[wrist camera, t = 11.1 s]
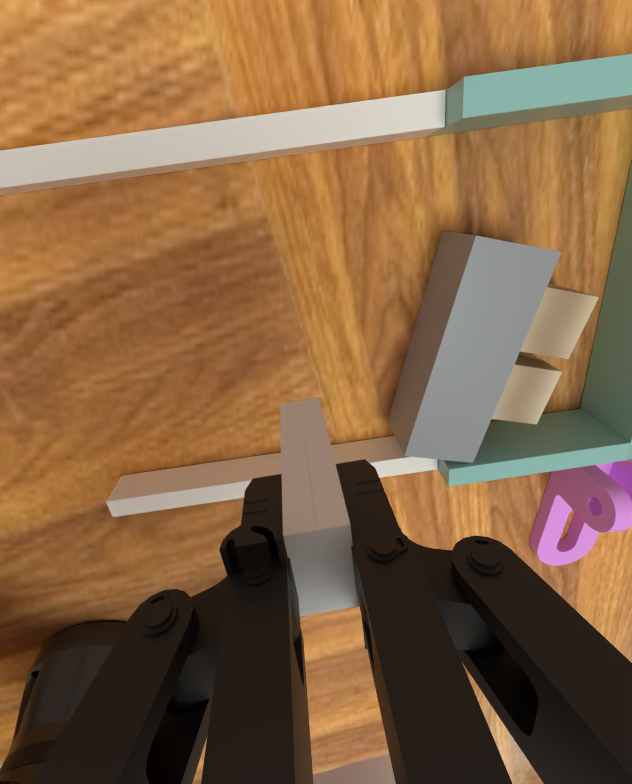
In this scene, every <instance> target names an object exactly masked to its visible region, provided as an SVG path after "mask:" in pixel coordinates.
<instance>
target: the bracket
mask: <svg viewBox="0 0 632 784" xmlns="http://www.w3.org/2000/svg"><path fill="white" fill-rule="evenodd" d="M572 510H574V511H575V515H574V517H573V520H572V522H571V525H570V528H569V530H568V533H567V535H566V537H565V538H563V539H562V540H560V541H559V539H560V536H561V534H562V531H563V528H564V526H565V523H566V520H567V518H568V515H569V513H570V512H571V511H572ZM631 525H632V459H631V460H625V461H618V462H611V463H604V464H598V465H591V466H584V467H577V468H571V469H564V470H557V471H552V472H551V475H550V478H549V481H548V484H547V487H546V490H545V493H544V496H543V499H542V503H541V506H540V509H539V512H538V515H537V518H536V521H535V524H534V527H533V530H532V533H531V536H530V546H531V548H532V549H533V551H534V552H535V553H536V555H537V556H538V558H539V559H540V560H541V561H542V562H543V563H545V564H548V565H553V566H559V565H565V564H569V563H572V562H574V561H576V560H578V559H580V558H582V557H583V556H584V555H586V554H587V553H588V552H589V551H590V550H591V548H592V547H593V545H594V543H595V541H596V539H597V536H598V534H599V532H617V531H625V530H627V529H628V528H630V526H631Z"/></svg>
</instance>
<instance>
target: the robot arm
mask: <svg viewBox="0 0 632 784" xmlns="http://www.w3.org/2000/svg"><path fill="white" fill-rule="evenodd" d="M280 432H281V473H282V474H277V475H271V476H265V477H259V478H253V479H252V480H251V482H250V484H249V485H248V487H247V488H246V490H245V495H244V506H243V513H242V514H243V516H242V522H241V526H239V527H237V528H236V529H234V530H233V531H231V532H230V533H229V534H228V535H227V536H226V538H225V539H224V540H223V542H222V544H221V547H220V549H219V550H220V553H221V556H222V560H223V563H224V566H225V569H226V572H227V577H226V578H224V579H223V580H222V581H221V582H220V583H218V584H216V585H215V586H213V587H211V588H209V589H207V590H205V591H203V592H201V593H199V594H197V595H195V596H192V597H190V596H189V595H188V594H187V593H186V592H185V591H181V590H177V589H171V590H164V591H161V592H159V593H157V594H155V595H153V596H151V597H149V598H148V599H147V600H146V601H144V602H143V603H142V604H141V605H139V607H138V608H137V609H136V611H135V612H134V613H133V614H132V616H131V617H130V619H129V620H128V622H127V623H121V622H93V623H86V624H81V625H77V626H73V627H70V628H67V629H65V630H63V631H61V632H59V633H57V634H55V635H54V636H52V637H51V638H50V639H49V640H48V641H47V642H46V643H45V644H44V645H43V647H42V648H41V650H40V652H39V654H38V656H37V658H36V659H35V661H34V663H33V665H32V667H31V668H30V671H29V673H28V676H27V679H26V685H25V689H24V693H23V697H22V701H21V706H20V710H19V714H18V719H17V723H16V728H15V732H14V736H13V741H12V745H11V748H10V751H9V753H8V755H7V757H6V759H5V761H4V763H3V765H2V767H1V769H0V784H192V782H193V779H194V776H195V773H196V769H197V766H198V763H199V760H200V757H201V754H202V750H203V747H204V744H205V741H206V738H207V743H206V751H205V758H204V766H203V774H202V782H201V784H313V773H312V758H311V744H310V729H309V715H308V701H307V686H306V672H305V657H304V643H303V636H302V632H301V627H300V616H307V615H312V614H318V613H324V612H329V611H335V610H341V609H346V608H352V607H358V606H360V610H361V614H362V623H363V632H364V641H365V649H367V650H368V654H369V659H370V664H371V669H372V673H373V678H374V683H375V687H376V692H377V697H378V702H379V706H380V711H381V716H382V721H383V725H384V730H385V735H386V739H387V744H388V749H389V754H390V758H391V763H392V768H393V772H394V777H395V782H396V784H512V782H511V779H510V777H509V774H508V772H507V770H506V767H505V765H504V762H503V760H502V758H501V755H500V753H499V750H498V748H497V746H496V743H495V741H494V739H493V736H492V734H491V731H490V729H489V727H488V724H487V722H486V719H485V717H484V715H483V712H482V710H481V707H480V705H479V703H478V700H477V698H476V695H475V693H474V691H473V688H472V686H471V683H470V681H469V679H468V676H467V674H466V671H465V669H464V667H463V664H464V665H465V667H466V668H467V670H468V671H469V673H470V674H471V676H472V677H473V679H474V680H475V682H476V683H477V685H478V686H479V688H480V689H481V691H482V692H483V694H484V695H485V697H486V698H487V700H488V701H489V703H490V704H491V706H492V707H493V709H494V710H495V712H496V713H497V714H498V716H499V717H500V719H501V720H502V722H503V723H504V725H505V726H506V728H507V729H508V731H509V732H510V734H511V735H512V737H513V738H514V740H515V741H516V743H517V744H518V746H519V747H520V749H521V750H522V752H523V753H524V755H525V756H526V758H527V759H528V761H529V762H530V764H531V765H532V767H533V768H534V770H535V771H536V773H537V774H538V776H539V777H540V778H541V780H542V781H543V783H544V784H632V663H631V662H630V661H629V660H628V659H627V658H626V657H625V656H624V655H623V654H621V653H620V652H619V651H618V650H617V649H616V648H615V647H614V646H613V645H612V644H611V643H610V642H609V641H608V640H607V639H606V638H604V637H603V636H602V635H601V634H600V633H599V632H598V631H597V630H596V629H595V628H594V627H593V626H592V625H591V624H590V623H588V622H587V621H586V620H585V619H584V618H583V617H582V616H581V615H580V614H579V613H578V612H577V611H576V610H575V609H574V608H573V607H571V606H570V605H569V604H568V603H567V602H566V601H565V600H564V599H563V598H562V597H561V596H560V595H559V594H558V593H557V592H555V591H554V590H553V589H552V588H551V587H550V586H549V585H548V584H547V583H546V582H545V581H544V580H543V579H542V578H541V577H540V576H538V575H537V574H536V573H535V572H534V571H533V570H532V569H531V568H530V567H529V566H528V565H527V564H526V563H525V562H524V561H523V560H521V559H520V558H519V557H518V556H517V555H516V554H515V553H514V552H513V551H512V550H511V549H510V548H508V547H507V546H505V545H504V544H502V543H501V542H499V541H497V540H494V539H491V538H489V537H482V536H471V537H467V538H463V539H462V540H460V541H459V542H457V543H456V544H455V546H454V548H453V550H452V551H451V550H441V549H433V548H428V547H423V546H421V545H418V544H416V543H414V542H412V541H411V540H409V539H408V537H407V536H405V535H404V534H403V533H402V531H401V530H400V528H399V526H398V523H397V521H396V518H395V516H394V513H393V511H392V508H391V506H390V503H389V501H388V498H387V496H386V493H385V491H384V488H383V486H382V483H381V482H380V478H379V476H378V473H377V471H376V468H375V467H374V466H372V465H371V464H370V463H369V462H368V461H366V460H365V459H363V460H357V461H351V462H344V463H338V464H335V460H334V456H333V452H332V448H331V444H330V440H329V436H328V431H327V427H326V423H325V419H324V415H323V411H322V407H321V403H320V399H319V398H313V399H306V400H300V401H294V402H287V403H281V404H280ZM299 612H300V613H299ZM460 659H461V660H460ZM461 661H462V662H463V664H462V662H461Z"/></svg>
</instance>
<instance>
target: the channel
mask: <svg viewBox="0 0 632 784" xmlns="http://www.w3.org/2000/svg"><path fill="white" fill-rule="evenodd" d="M445 99H446V90H440V91H433V92H426V93H418V94H411V95H404V96H396V97H389V98H382V99H374V100H367V101H360V102H352V103H345V104H338V105H330V106H323V107H316V108H308V109H301V110H294V111H286V112H279V113H272V114H265V115H257V116H250V117H243V118H235V119H228V120H221V121H213V122H206V123H199V124H191V125H184V126H177V127H169V128H162V129H155V130H147V131H140V132H133V133H125V134H118V135H111V136H104V137H96V138H89V139H82V140H74V141H67V142H60V143H52V144H45V145H38V146H30V147H23V148H16V149H8V150H1V151H0V195H8V194H15V193H22V192H29V191H37V190H44V189H51V188H58V187H66V186H73V185H80V184H87V183H95V182H102V181H109V180H116V179H124V178H131V177H138V176H145V175H153V174H160V173H167V172H174V171H182V170H189V169H196V168H203V167H210V166H218V165H225V164H232V163H239V162H247V161H254V160H261V159H268V158H276V157H283V156H290V155H297V154H305V153H312V152H319V151H326V150H334V149H341V148H348V147H355V146H363V145H370V144H377V143H384V142H392V141H399V140H406V139H413V138H421V137H426V136H428V135H430V134H432V133H434V132H436V131H438V130H440V129H442V128H443V127H445ZM331 448H332V452H333V456H334V460H335V464H338V463H344V462H351V461H357V460H363V459H365V460H366V461H368V462H369V463H370V464H371V465H372V466H374V467H375V468H376V471H377V473H378V476H379V478H381V477H388V476H395V475H402V474H408V473H415V472H422V471H429V470H436V469H438V459H429V458H419V457H410V456H404V454H403V452H402V450H401V448H400V446H399V443H398V441H397V439H396V437H395V436H389V437H382V438H375V439H369V440H362V441H355V442H348V443H341V444H334V445H331ZM277 474H282V473H281V452H280V453H273V454H266V455H259V456H253V457H246V458H239V459H232V460H225V461H218V462H212V463H205V464H198V465H191V466H184V467H178V468H171V469H164V470H157V471H150V472H143V473H137V474H130V475H123V476H121V478H120V479H119V481H118V482H117V484H116V486H115V487H114V489H113V491H112V492H111V494H110V496H109V497H108V499H107V500H106V503H107V506H108V508H109V510H110V512H111V514H112V516H113V517H117V516H124V515H131V514H138V513H144V512H151V511H158V510H165V509H172V508H178V507H185V506H192V505H199V504H205V503H212V502H219V501H226V500H232V499H239V498H244V495H245V490H246V488H247V487H248V485H249V484H250V482H251V480H252V479H253V478H259V477H265V476H271V475H277Z"/></svg>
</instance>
